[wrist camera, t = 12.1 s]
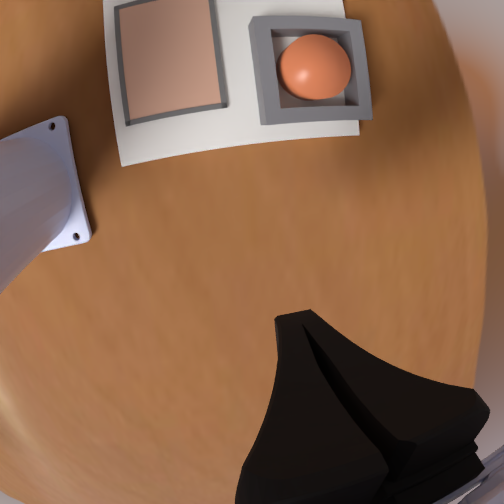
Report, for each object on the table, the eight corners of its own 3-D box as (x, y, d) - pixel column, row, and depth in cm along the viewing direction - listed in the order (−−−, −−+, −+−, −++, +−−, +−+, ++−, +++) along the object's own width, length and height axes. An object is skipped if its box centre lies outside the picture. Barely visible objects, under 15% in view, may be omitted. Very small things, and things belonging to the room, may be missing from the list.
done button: (279, 102, 16) (288, 100, 14) (272, 43, 14) (280, 34, 13) (339, 100, 16) (354, 98, 14) (332, 43, 15) (346, 36, 13)
